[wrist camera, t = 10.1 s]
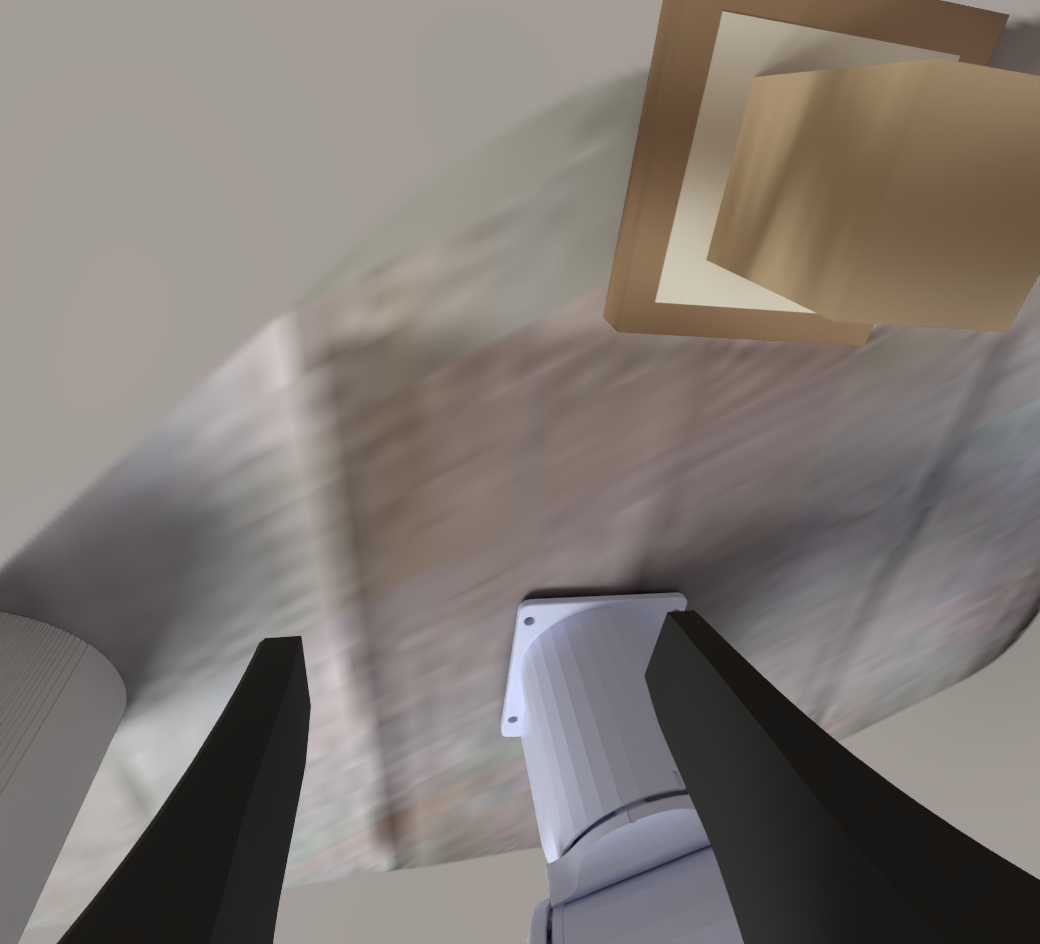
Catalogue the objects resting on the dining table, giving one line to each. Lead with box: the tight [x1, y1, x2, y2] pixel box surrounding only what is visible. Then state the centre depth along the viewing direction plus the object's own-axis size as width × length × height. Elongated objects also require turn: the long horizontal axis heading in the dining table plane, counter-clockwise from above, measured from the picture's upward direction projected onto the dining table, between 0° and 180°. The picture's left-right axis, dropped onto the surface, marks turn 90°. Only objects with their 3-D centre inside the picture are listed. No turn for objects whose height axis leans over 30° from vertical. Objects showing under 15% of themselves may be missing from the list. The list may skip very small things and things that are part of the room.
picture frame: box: [603, 0, 1009, 346], centre depth 17 cm, size 9×9×2 cm
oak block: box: [706, 58, 1040, 332], centre depth 14 cm, size 4×4×6 cm
